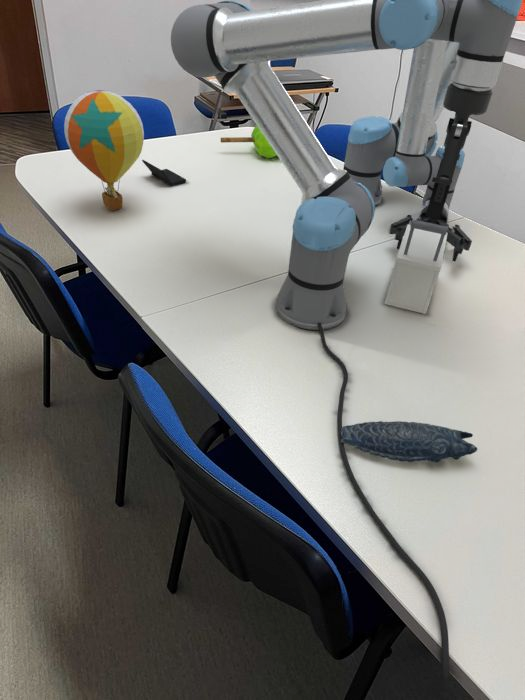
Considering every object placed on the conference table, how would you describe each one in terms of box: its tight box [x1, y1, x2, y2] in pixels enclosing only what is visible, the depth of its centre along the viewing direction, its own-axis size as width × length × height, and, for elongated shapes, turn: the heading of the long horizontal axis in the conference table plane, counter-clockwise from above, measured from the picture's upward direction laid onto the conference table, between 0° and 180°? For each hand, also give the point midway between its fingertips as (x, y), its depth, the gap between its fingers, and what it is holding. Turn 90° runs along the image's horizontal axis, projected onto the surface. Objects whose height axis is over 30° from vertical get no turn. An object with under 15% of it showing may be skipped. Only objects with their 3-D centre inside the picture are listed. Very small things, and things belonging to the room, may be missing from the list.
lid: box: [395, 220, 448, 273], centre depth 112 cm, size 18×9×9 cm, turn 160°
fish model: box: [340, 420, 478, 463], centre depth 82 cm, size 7×21×5 cm, turn 84°
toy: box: [63, 89, 145, 212], centre depth 136 cm, size 20×20×30 cm
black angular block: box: [141, 159, 187, 187], centre depth 162 cm, size 12×7×10 cm
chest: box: [384, 261, 440, 315], centre depth 119 cm, size 17×9×11 cm, turn 160°
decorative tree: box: [220, 124, 278, 159], centre depth 187 cm, size 18×10×30 cm
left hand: (436, 203), depth 102 cm, fingers open, 13 cm apart
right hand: (427, 250), depth 126 cm, fingers open, 13 cm apart
